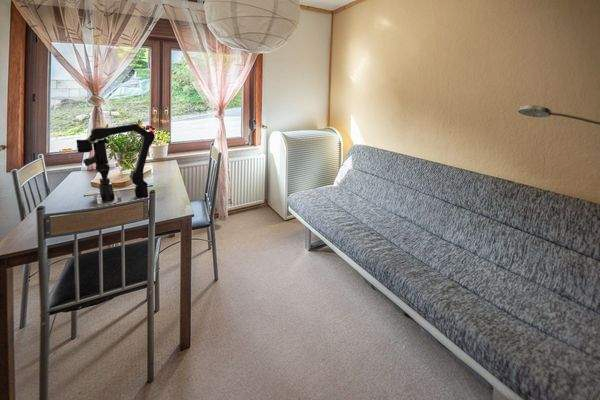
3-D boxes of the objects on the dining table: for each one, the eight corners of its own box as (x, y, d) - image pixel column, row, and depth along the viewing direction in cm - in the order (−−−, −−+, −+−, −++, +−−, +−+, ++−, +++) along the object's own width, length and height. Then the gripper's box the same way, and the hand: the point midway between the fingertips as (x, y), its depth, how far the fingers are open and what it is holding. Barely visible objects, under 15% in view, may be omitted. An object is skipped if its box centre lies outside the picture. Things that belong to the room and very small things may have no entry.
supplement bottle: (111, 196, 197) (108, 176, 193) (117, 199, 193) (114, 178, 189) (98, 199, 191) (95, 178, 188) (104, 202, 187) (101, 181, 184)
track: (120, 196, 201) (119, 190, 200) (121, 203, 189) (121, 197, 188) (94, 199, 195) (93, 193, 194) (94, 206, 183) (93, 200, 182)
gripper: (83, 149, 187) (87, 177, 192) (82, 155, 172) (87, 185, 177) (106, 148, 192) (110, 175, 197) (107, 154, 177) (111, 182, 182)
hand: (104, 179), depth 188 cm, fingers open, 9 cm apart
